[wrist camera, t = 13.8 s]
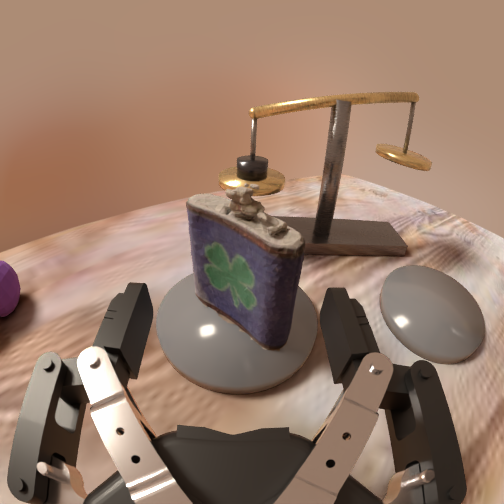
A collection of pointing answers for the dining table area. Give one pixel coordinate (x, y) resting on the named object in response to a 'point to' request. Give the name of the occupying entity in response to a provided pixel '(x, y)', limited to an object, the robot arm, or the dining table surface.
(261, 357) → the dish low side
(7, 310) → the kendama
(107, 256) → the dining table surface
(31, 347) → the dining table surface
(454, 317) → the gray domed disc
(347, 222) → the balance
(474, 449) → the dining table surface
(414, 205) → the dining table surface
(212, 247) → the flask
